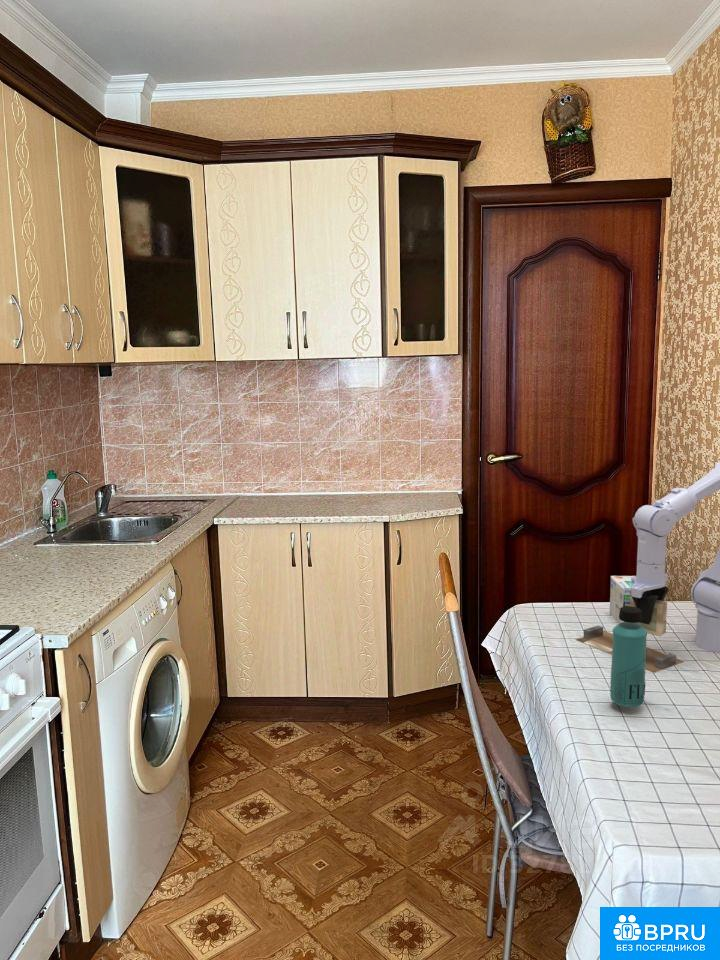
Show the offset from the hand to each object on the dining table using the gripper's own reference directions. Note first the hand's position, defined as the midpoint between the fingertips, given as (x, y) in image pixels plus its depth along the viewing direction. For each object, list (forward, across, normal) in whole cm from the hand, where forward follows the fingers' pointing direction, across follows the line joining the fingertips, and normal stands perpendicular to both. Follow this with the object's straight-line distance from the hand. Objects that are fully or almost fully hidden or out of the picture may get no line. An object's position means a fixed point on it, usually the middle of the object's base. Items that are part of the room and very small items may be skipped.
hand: (648, 620), depth 167 cm
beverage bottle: (+10, +23, +6) cm, 26 cm away
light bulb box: (+10, -20, -13) cm, 26 cm away
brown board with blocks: (+9, -1, -5) cm, 11 cm away
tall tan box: (+2, 0, 0) cm, 2 cm away
